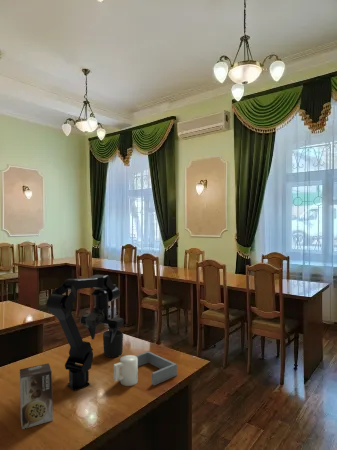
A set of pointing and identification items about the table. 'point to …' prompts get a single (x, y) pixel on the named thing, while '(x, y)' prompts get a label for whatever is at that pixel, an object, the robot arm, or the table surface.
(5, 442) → the table surface
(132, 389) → the table surface
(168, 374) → the frame
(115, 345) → the pen holder
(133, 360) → the jug
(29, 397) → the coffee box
